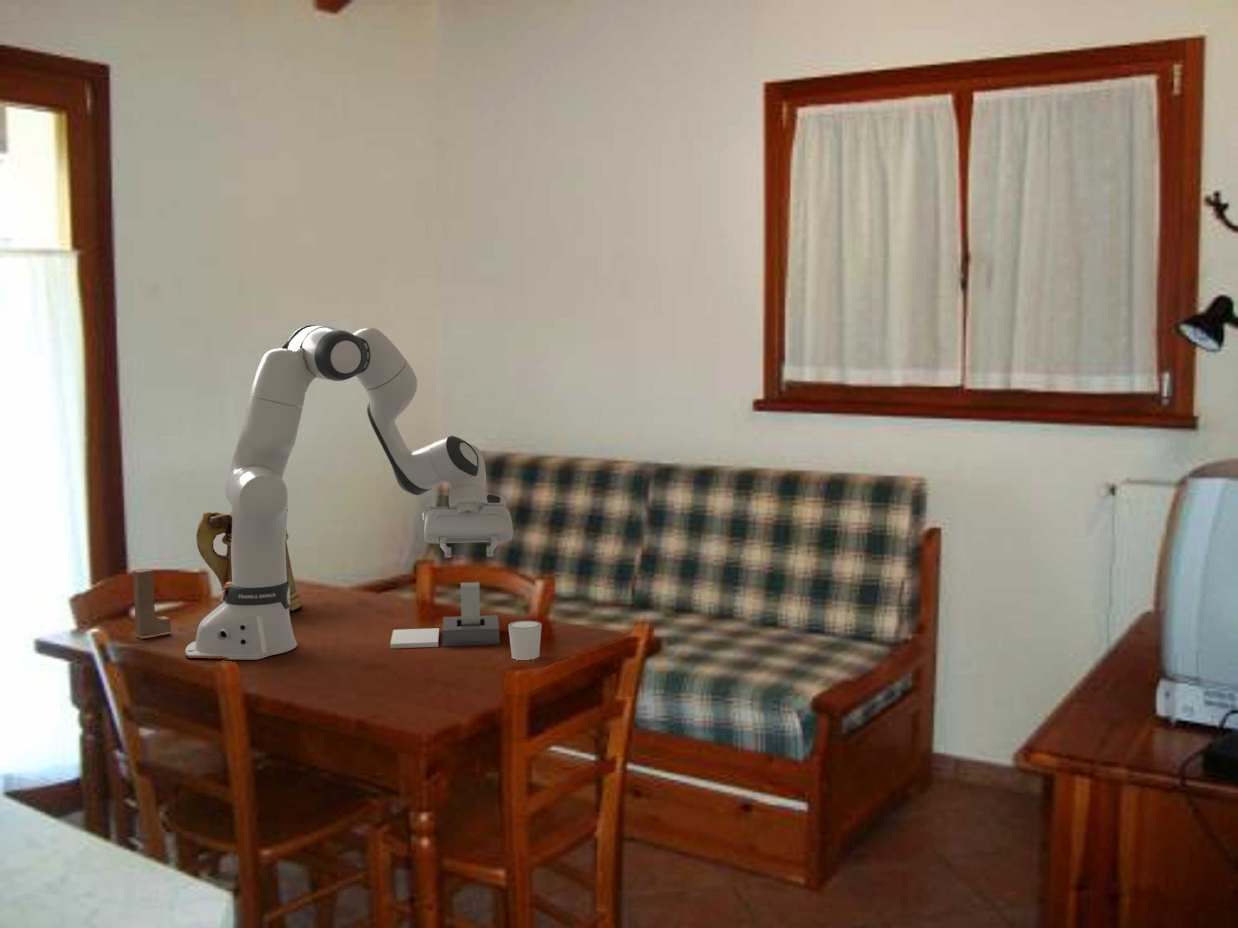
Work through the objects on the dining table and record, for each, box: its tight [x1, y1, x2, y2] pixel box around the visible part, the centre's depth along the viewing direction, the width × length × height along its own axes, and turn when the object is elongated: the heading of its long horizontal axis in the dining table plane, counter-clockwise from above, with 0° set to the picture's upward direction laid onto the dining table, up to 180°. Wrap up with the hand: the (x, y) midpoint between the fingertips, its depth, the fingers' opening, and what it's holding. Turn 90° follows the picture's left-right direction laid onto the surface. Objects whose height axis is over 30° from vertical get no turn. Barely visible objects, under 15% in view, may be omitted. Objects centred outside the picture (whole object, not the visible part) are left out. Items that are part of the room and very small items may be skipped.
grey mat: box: [389, 627, 440, 649], centre depth 267 cm, size 10×12×1 cm
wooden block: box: [132, 567, 172, 636], centre depth 271 cm, size 7×3×15 cm, turn 131°
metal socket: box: [442, 614, 501, 647], centre depth 268 cm, size 12×12×4 cm
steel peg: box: [460, 581, 481, 626], centre depth 268 cm, size 4×4×12 cm
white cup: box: [507, 620, 542, 661], centre depth 253 cm, size 7×7×7 cm
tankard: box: [196, 508, 302, 613], centre depth 293 cm, size 18×24×25 cm
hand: (469, 555), depth 278 cm, fingers open, 8 cm apart
